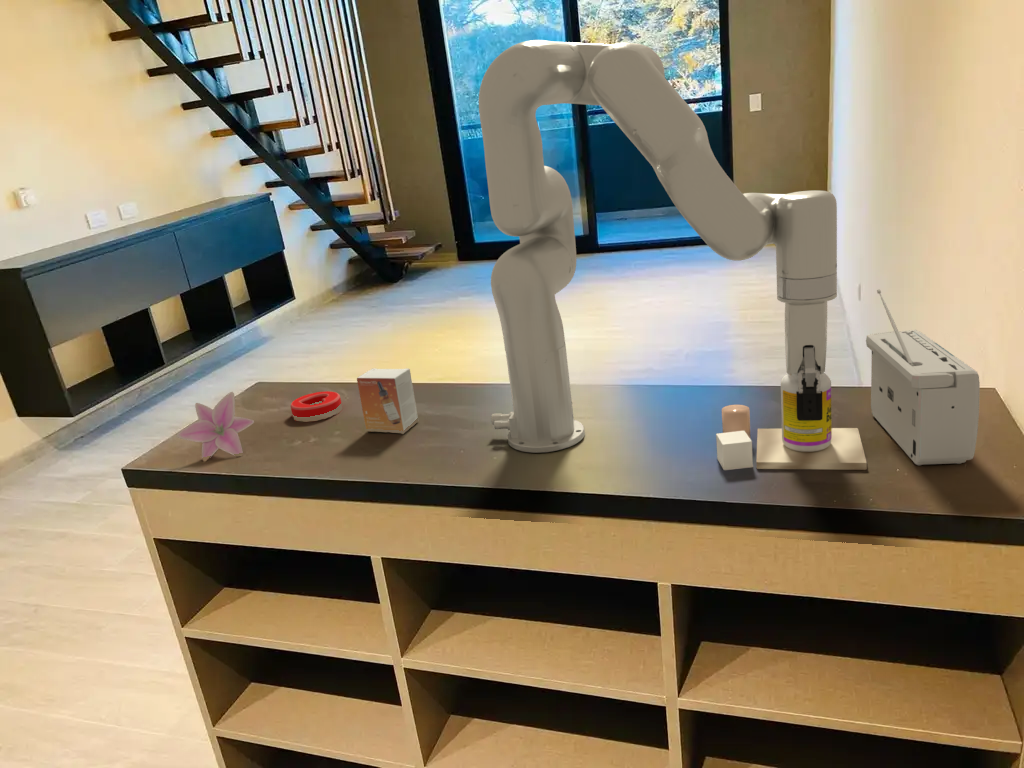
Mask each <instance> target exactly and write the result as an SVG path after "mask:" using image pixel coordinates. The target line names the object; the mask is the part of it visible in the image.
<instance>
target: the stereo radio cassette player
mask: <svg viewBox="0 0 1024 768" xmlns="http://www.w3.org/2000/svg"><path fill="white" fill-rule="evenodd" d="M876 292H877V294H878V295H879V296H880V299H881V301H882V305H883V308H884V309H885V312H886V315H887V316H888V320H889V321H890V324H891V326H892V329H893V331H885V332H877V333H870V334H867V335H866V338H865V342H866V344H865V345H866V347H867V348H868V349H869V350H870V351H871V366H870V367H871V370H870V371H871V373H870V374H871V375H870V377H871V380H870V382H871V383H870V385H871V386H870V387H871V388H870V408H871V415H872V416H873V417H874V418H875V419H876V420H877V422H878V423H879V424H880V425H881V426H882V428H884V429H885V431H886V432H887V433H888V434H889V435H890V436H891V438H892V439H893V440H894V441H895V443H897V444H898V446H899V447H900V448H901V449H902V451H904V453H905V454H906V455H907V456H908V457H909V459H911V461H913V463H914V464H915V465H916V466H922V465H942V464H945V465H946V464H948V465H949V464H956V465H960V464H962V463H966V462H967V461H971V460H973V459H974V457H975V451H976V444H977V439H978V431H979V419H980V418H979V416H980V397H981V396H980V395H981V394H980V387H981V386H980V385H981V384H980V375H979V373H978V371H976V370H975V369H974V368H972V367H971V366H970V365H968V364H967V363H965V362H964V361H962V359H960V358H958V357H957V356H955V355H953V354H952V353H951V352H949V351H948V350H947V349H945V348H944V347H942V346H941V345H940V344H938V342H935V340H933V339H931V338H930V337H929V336H927V335H926V334H924V333H923V332H921V331H919V330H917V329H911V330H902V331H899V329H898V327H897V325H896V323H895V320H894V319H893V316H892V314H891V312H890V310H889V308H888V306H887V304H886V302H885V300H884V297H883V296H882V294H881V293H882V291H881V289H877V290H876Z"/></svg>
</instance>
